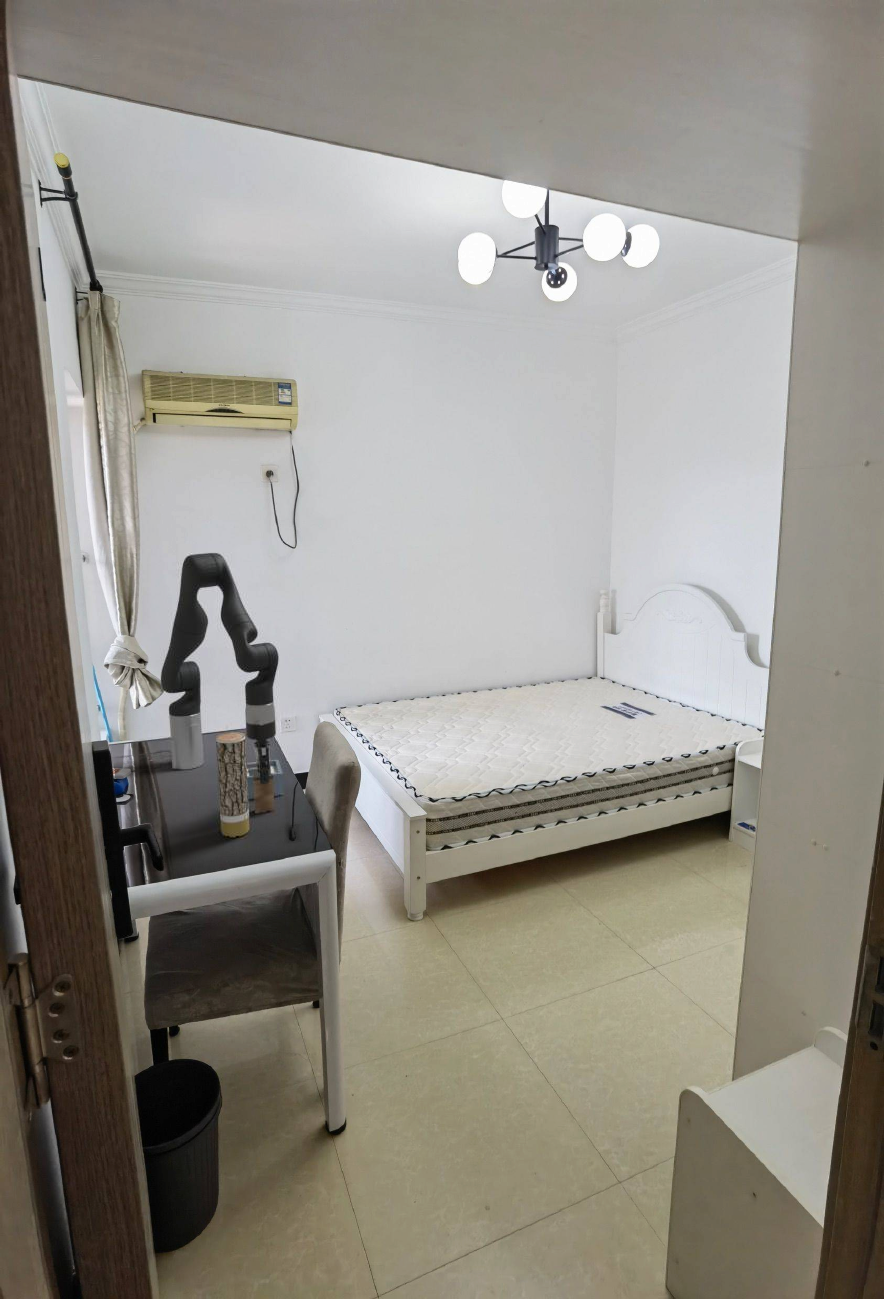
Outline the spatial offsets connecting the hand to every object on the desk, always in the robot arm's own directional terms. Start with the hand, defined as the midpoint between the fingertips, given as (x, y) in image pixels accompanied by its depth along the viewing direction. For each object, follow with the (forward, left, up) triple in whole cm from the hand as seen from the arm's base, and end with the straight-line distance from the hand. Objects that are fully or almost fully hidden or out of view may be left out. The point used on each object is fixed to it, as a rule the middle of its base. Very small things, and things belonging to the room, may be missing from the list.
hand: (263, 777), depth 182 cm
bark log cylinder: (-8, -11, -10) cm, 17 cm away
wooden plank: (0, 0, -10) cm, 10 cm away
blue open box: (0, +15, -9) cm, 18 cm away
